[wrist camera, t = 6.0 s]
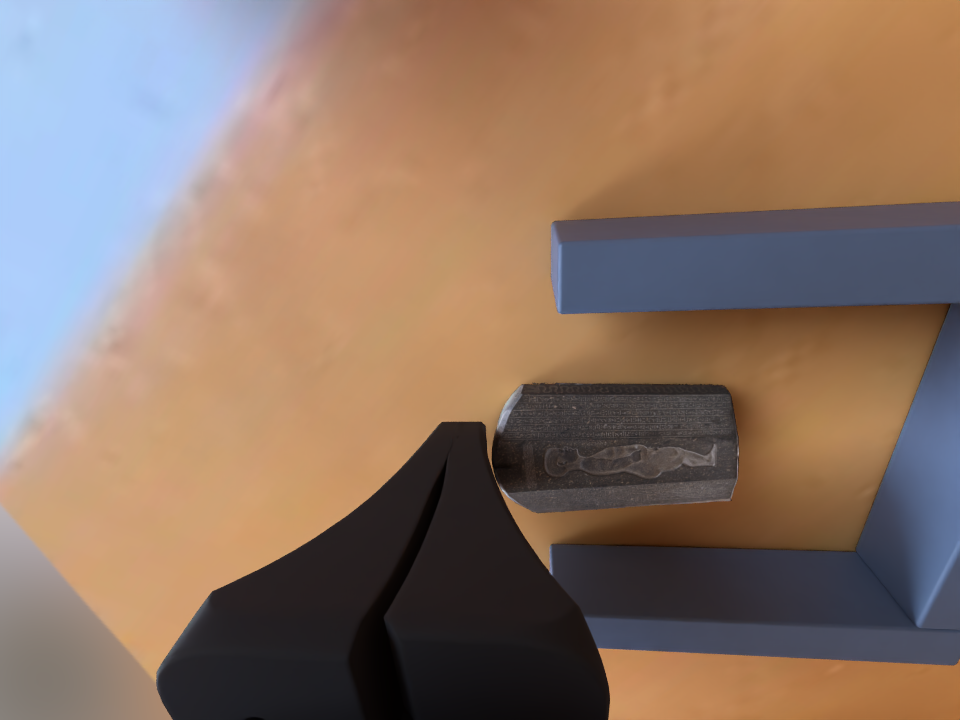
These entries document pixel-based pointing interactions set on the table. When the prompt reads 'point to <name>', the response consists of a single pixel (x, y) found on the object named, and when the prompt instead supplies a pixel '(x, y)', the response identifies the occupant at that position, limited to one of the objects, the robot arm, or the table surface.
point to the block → (616, 446)
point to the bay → (905, 486)
